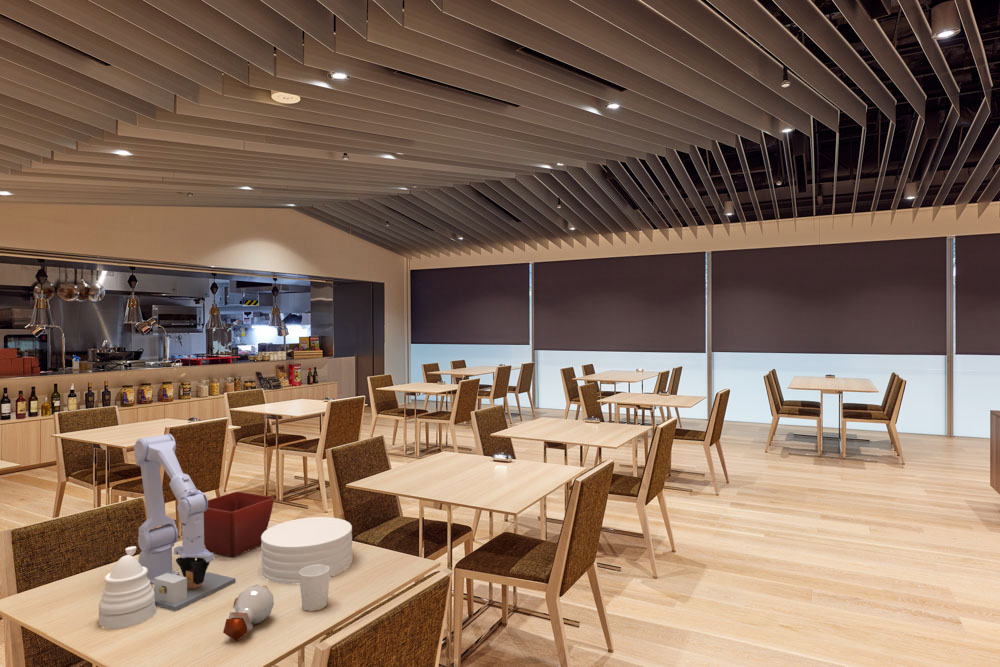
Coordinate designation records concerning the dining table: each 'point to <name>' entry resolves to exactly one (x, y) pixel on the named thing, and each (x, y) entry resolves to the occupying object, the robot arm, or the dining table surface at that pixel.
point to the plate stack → (305, 547)
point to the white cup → (314, 587)
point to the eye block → (186, 589)
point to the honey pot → (126, 594)
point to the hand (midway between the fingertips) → (194, 581)
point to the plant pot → (236, 522)
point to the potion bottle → (249, 611)
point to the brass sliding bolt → (190, 582)
